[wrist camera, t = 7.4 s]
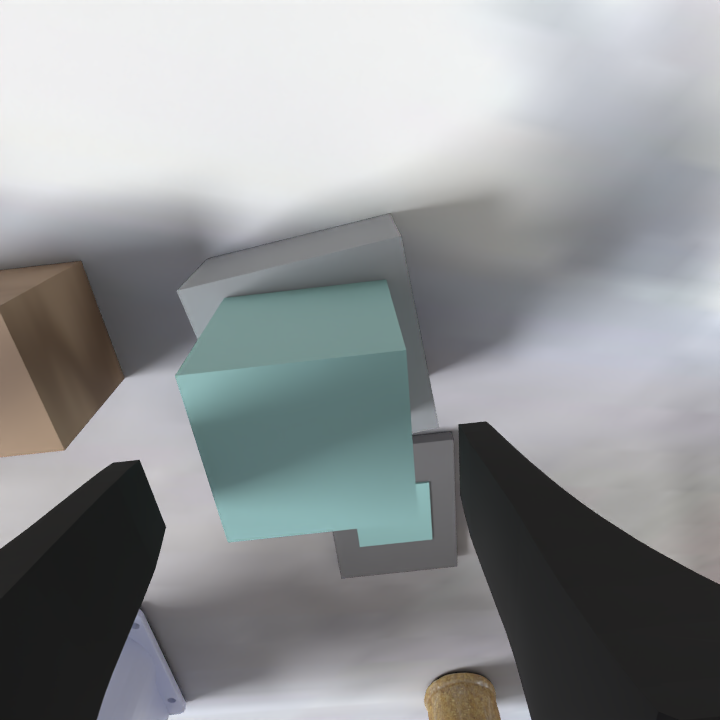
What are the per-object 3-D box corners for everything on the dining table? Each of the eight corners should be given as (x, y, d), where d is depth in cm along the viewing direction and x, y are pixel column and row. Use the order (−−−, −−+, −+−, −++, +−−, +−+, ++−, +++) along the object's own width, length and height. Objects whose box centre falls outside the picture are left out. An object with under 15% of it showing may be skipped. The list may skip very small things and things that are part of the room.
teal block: (397, 415, 17) (418, 522, 13) (256, 431, 17) (228, 542, 13) (385, 279, 15) (406, 349, 10) (224, 298, 15) (175, 375, 10)
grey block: (422, 374, 21) (439, 427, 17) (266, 409, 22) (251, 467, 18) (389, 211, 18) (401, 235, 14) (208, 257, 18) (176, 291, 15)
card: (454, 556, 26) (457, 567, 25) (341, 568, 26) (341, 580, 25) (450, 431, 22) (453, 440, 21) (319, 446, 22) (318, 455, 22)
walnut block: (125, 377, 20) (64, 450, 16) (8, 390, 20) (-85, 466, 16) (82, 260, 18) (-3, 306, 14) (-50, 275, 18) (-177, 326, 14)
